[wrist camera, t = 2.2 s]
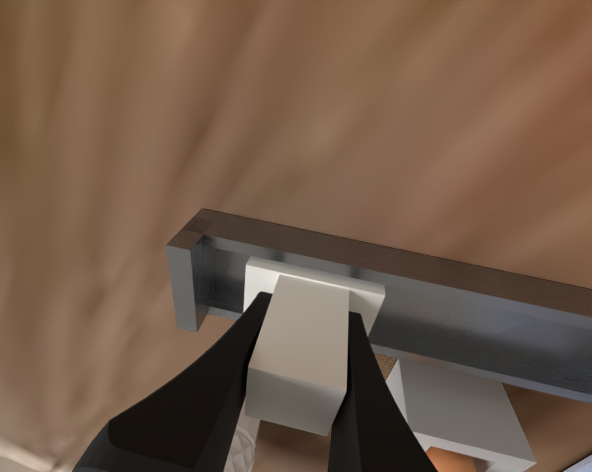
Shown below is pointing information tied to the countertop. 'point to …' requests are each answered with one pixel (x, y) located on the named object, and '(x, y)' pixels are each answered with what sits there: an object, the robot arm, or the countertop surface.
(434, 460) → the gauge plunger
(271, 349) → the carriage
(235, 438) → the white cup
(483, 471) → the white hollow block
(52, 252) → the countertop surface
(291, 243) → the rail
